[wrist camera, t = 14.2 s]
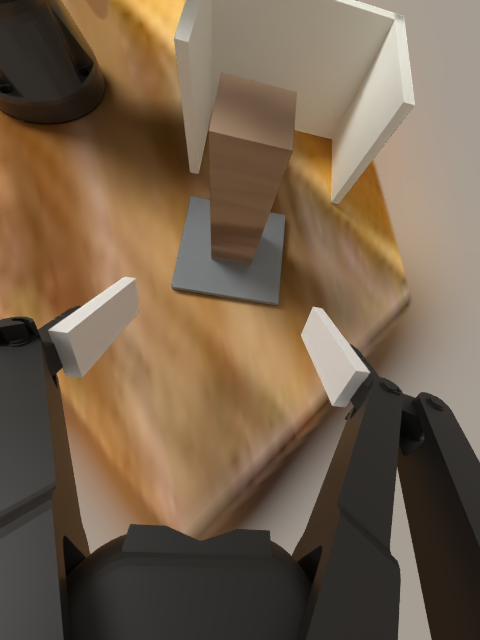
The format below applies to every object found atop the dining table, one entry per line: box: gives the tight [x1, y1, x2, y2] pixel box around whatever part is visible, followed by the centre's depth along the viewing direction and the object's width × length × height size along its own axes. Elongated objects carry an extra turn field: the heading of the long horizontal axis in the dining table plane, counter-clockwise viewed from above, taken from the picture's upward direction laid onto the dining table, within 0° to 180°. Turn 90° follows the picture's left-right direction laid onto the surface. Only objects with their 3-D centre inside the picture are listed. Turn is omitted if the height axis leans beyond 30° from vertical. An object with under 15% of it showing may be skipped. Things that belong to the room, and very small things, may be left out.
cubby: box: [174, 0, 415, 204], centre depth 25 cm, size 14×22×12 cm, turn 83°
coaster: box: [171, 196, 285, 305], centre depth 26 cm, size 13×13×1 cm
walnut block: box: [209, 72, 297, 265], centre depth 19 cm, size 5×5×14 cm
